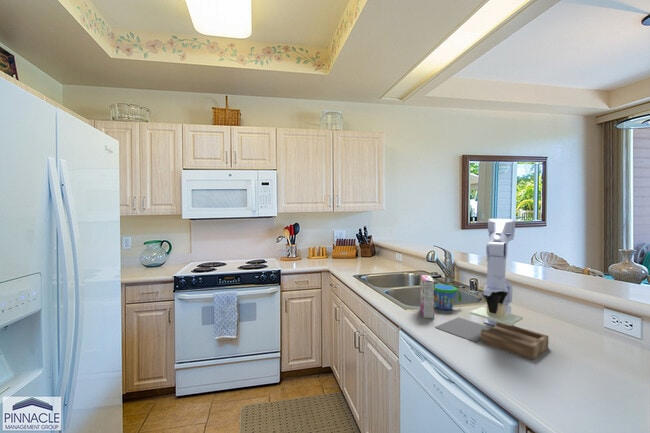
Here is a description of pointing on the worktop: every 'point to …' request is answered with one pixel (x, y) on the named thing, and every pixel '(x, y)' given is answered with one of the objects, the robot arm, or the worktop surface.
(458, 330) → the charcoal mat
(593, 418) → the worktop surface
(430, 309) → the candy bar box
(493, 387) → the worktop surface
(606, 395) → the worktop surface
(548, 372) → the worktop surface
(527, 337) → the walnut box
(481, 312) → the cover plate
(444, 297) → the snack cup
